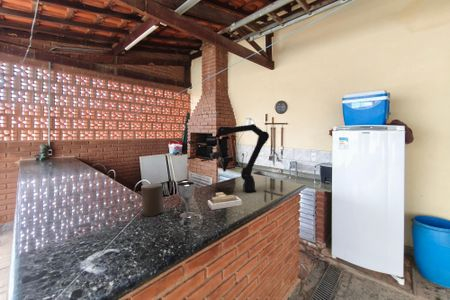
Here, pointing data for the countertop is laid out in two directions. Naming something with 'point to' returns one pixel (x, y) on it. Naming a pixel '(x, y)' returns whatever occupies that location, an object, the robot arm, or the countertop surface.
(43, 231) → the countertop surface
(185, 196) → the wine glass
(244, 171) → the robot arm
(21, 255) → the countertop surface
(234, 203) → the bracket
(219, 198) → the t block
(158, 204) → the pillar candle
